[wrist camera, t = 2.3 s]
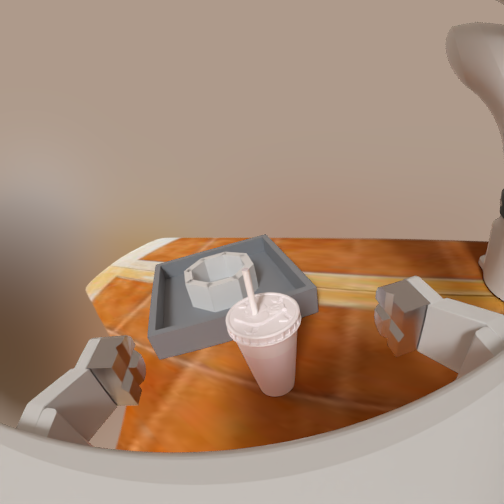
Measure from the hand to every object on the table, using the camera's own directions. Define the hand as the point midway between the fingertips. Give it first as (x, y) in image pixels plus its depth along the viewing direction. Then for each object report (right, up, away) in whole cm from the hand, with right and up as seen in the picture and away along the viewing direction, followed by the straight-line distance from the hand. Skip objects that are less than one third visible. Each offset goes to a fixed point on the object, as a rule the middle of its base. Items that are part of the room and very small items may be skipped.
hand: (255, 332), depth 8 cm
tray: (-4, -5, +36) cm, 37 cm away
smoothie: (+3, -11, +19) cm, 22 cm away
